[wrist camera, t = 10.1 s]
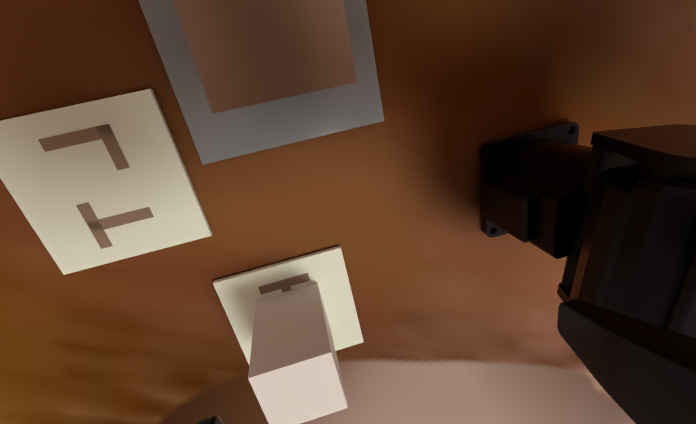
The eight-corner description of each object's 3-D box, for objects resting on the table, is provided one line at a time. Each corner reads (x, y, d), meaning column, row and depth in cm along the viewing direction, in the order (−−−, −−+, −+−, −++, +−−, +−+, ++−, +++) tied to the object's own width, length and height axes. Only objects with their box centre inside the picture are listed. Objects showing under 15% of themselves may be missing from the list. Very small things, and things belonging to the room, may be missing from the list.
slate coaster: (347, -107, 15) (348, -112, 14) (382, 120, 18) (384, 120, 18) (114, -69, 14) (109, -73, 13) (204, 163, 17) (202, 164, 17)
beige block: (317, 282, 21) (331, 352, 16) (330, 329, 23) (348, 407, 17) (256, 300, 21) (248, 378, 15) (274, 347, 22) (272, 432, 17)
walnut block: (308, -33, 15) (326, -101, 9) (331, 82, 17) (357, 82, 11) (197, -14, 14) (147, -74, 9) (234, 103, 16) (212, 113, 11)
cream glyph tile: (152, 88, 16) (149, 88, 15) (212, 233, 19) (211, 235, 19) (-28, 127, 15) (-34, 127, 15) (67, 271, 18) (63, 274, 18)
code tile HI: (339, 245, 21) (340, 247, 21) (362, 339, 24) (363, 342, 24) (213, 280, 20) (212, 283, 20) (254, 372, 23) (254, 376, 23)
